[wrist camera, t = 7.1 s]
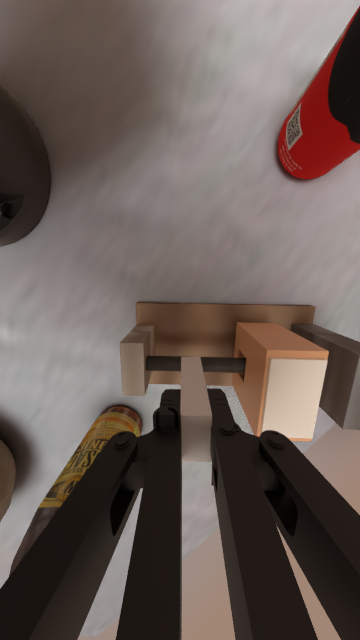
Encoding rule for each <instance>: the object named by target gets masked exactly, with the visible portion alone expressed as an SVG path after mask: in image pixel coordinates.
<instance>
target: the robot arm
mask: <svg viewBox="0 0 360 640" xmlns="http://www.w3.org/2000/svg"><path fill="white" fill-rule="evenodd" d="M49 191H50V168H49V161H48V156H47V153H46V149H45V146H44V143H43V141H42V138H41V136H40V134H39V132H38V130H37V128H36V126H35V124H34V123H33V121H32V119H31V118H30V117H29V115H28V114H27V112H26V111H25V110H24V109H23V108H22V106H21V105H20V104H19V103H18V102H17V101H16V100H15V99H14V98H13V97H12V96H11V95H10V94H9V93H8V92H7V91H6V90H5V89H4V88H3V87H2V86H1V85H0V246H2V245H6V244H10V243H13V242H15V241H17V240H19V239H21V238H22V237H24V236H25V235H27V234H28V233H29V232H30V231H31V230H32V229H33V228H34V227H35V226H36V224H37V223H38V221H39V220H40V218H41V216H42V215H43V212H44V210H45V207H46V205H47V201H48V197H49ZM153 427H154V429H153V430H152V431H151V432H149V433H148V434H145V435H142V436H139V437H136V435H135V434H134V433H132V432H130V431H122V432H118V433H117V434H115V435H113V436H112V437H111V438H110V439H109V440H108V442H107V443H106V444H105V446H104V447H103V449H102V450H101V451H100V453H99V454H98V455H97V457H96V458H95V460H94V461H93V462H92V464H91V465H90V466H89V468H88V469H87V471H86V472H85V473H84V475H83V476H82V477H81V479H80V480H79V482H78V483H77V484H76V486H75V487H74V488H73V490H72V491H71V493H70V494H69V495H68V497H67V498H66V499H65V501H64V502H63V504H62V505H61V506H60V508H59V509H58V510H57V512H56V513H55V515H54V516H53V517H52V519H51V520H50V521H49V523H48V524H47V526H46V527H45V528H44V530H43V531H42V532H41V534H40V535H39V537H38V538H37V539H36V541H35V542H34V543H33V545H32V546H31V548H30V549H29V550H28V552H27V553H26V554H25V556H24V557H23V559H22V560H21V561H20V563H19V564H18V565H17V567H16V568H15V570H14V571H13V572H12V574H11V575H10V576H9V578H8V579H7V581H6V582H5V583H4V585H3V586H2V587H1V589H0V640H77V639H78V636H79V634H80V632H81V629H82V627H83V625H84V622H85V620H86V618H87V615H88V613H89V610H90V608H91V606H92V603H93V601H94V598H95V596H96V594H97V591H98V589H99V587H100V584H101V582H102V579H103V577H104V575H105V572H106V570H107V567H108V565H109V563H110V560H111V558H112V556H113V553H114V551H115V548H116V546H117V544H118V541H119V539H120V536H121V534H122V532H123V529H124V527H125V525H126V522H127V520H128V517H129V515H130V513H131V510H132V508H133V506H134V503H135V501H136V498H137V496H138V494H139V491H140V488H143V492H142V497H141V503H140V508H139V514H138V519H137V525H136V530H135V536H134V542H133V547H132V553H131V558H130V564H129V569H128V575H127V580H126V586H125V592H124V597H123V603H122V608H121V614H120V619H119V625H118V630H117V636H116V640H181V613H182V609H181V607H182V604H181V603H182V602H181V601H182V592H181V591H182V462H211V459H212V485H214V491H215V498H216V505H217V512H218V519H219V526H220V533H221V540H222V547H223V554H224V561H225V569H226V575H227V582H228V590H229V596H230V604H231V611H232V618H233V624H234V632H235V638H236V640H318V639H317V636H316V633H315V631H314V628H313V625H312V622H311V620H310V617H309V614H308V611H307V608H306V606H305V603H304V600H303V598H302V595H301V592H300V589H299V587H298V584H297V581H296V578H295V576H294V573H293V570H292V568H291V565H290V562H289V559H288V556H287V554H286V551H285V548H284V546H283V543H282V540H281V537H280V535H279V532H278V529H277V527H278V528H279V530H280V532H281V534H282V536H283V537H284V539H285V541H286V543H287V544H288V546H289V548H290V550H291V551H292V553H293V555H294V557H295V559H296V560H297V562H298V564H299V566H300V568H301V569H302V571H303V573H304V575H305V576H306V578H307V580H308V582H309V583H310V585H311V587H312V589H313V590H314V592H315V594H316V596H317V598H318V599H319V601H320V603H321V605H322V606H323V608H324V610H325V612H326V614H327V615H328V617H329V619H330V620H331V622H332V624H333V626H334V628H335V629H336V631H337V633H338V635H339V637H340V638H341V640H360V515H359V514H358V513H357V512H356V511H355V510H354V509H353V508H352V507H351V506H350V505H349V503H348V502H347V501H346V500H345V499H344V498H343V497H342V496H341V495H340V494H339V493H338V492H337V490H335V488H334V487H333V486H332V485H331V484H330V483H329V482H328V481H327V480H326V479H325V478H324V476H323V475H322V474H321V473H320V472H319V471H318V470H317V469H316V468H315V467H314V466H313V465H312V464H311V462H309V460H308V459H307V458H306V457H305V456H304V455H303V454H302V453H301V452H300V451H299V449H298V448H297V447H296V446H295V445H294V444H293V443H292V442H291V441H290V440H289V439H288V438H287V437H286V436H285V435H283V434H281V433H279V432H277V431H273V430H266V431H264V432H262V433H261V435H260V437H259V436H255V435H251V434H248V433H246V432H244V431H242V430H241V428H240V427H239V425H238V424H236V423H235V421H234V418H233V416H232V413H231V410H230V407H229V405H228V401H227V398H226V395H225V393H224V392H223V391H222V390H221V389H207V388H206V383H205V378H204V373H203V368H202V363H201V358H200V357H181V389H166V390H165V391H164V392H163V393H162V396H161V402H160V408H158V409H157V410H156V411H155V412H154V414H153ZM275 523H276V524H275ZM276 525H277V526H276Z"/></svg>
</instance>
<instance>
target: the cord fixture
mask: <svg viewBox="0 0 360 640" xmlns="http://www.w3.org/2000/svg"><path fill="white" fill-rule="evenodd" d="M314 313H315V306H309V305H254V304H199V303H143V302H138V303H136V315H137V325H136V326H135V327H134V328H133V329H132V331H131V332H130V333H129V334H128V335H127V336H126V337H125V338H124V339H123V340H122V341H121V342H120V356H121V374H122V391H123V395H131V396H145V393H146V390H147V387H148V384H180V385H181V357H200V358H201V363H202V368H203V373H204V378H205V383H206V385H220V386H233V385H232V375H233V373H245V367H246V358H234V351H235V338H236V326H237V322H242V323H276V324H278V325H280V326H282V327H284V328H286V329H288V330H290V331H291V332H293V333H295V334H297V335H299V336H301V337H303V338H305V339H307V340H308V341H310V342H312V343H314V344H316V345H318V346H320V347H322V348H324V349H325V350H327V351H329V354H328V359H327V360H328V361H327V367H326V372H325V377H324V382H323V387H322V392H321V397H320V402H319V407H320V408H321V409H323V410H324V411H325V412H326V413H327V414H328V415H329V416H330V417H331V418H332V419H333V420H334V421H335V422H336V423H337V424H338V425H339V426H340V427H341V428H342V429H357V430H360V342H358V341H355V340H353V339H350V338H347V337H345V336H342V335H340V334H337V333H334V332H332V331H329V330H327V329H324V328H321V327H319V326H316V325H314V324H313V319H314Z"/></svg>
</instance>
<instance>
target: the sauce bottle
mask: <svg viewBox="0 0 360 640" xmlns="http://www.w3.org/2000/svg"><path fill="white" fill-rule="evenodd" d="M122 431H130V432H132V433H134V434H135V435H136V437H139V436H140V435H141V431H142V422H141V419H140V417H139V416H138V415H137V414H136V413H135V412H134V411H132V410H131V409H129V408H127V407H124V406H122V407H121V406H115V407H112V408H109V409H107V410H105V411H103V412H102V414H101V415H100V417H98V418H97V419H96V421H95V422H94V423H93V425H92V426H91V428H90V430H89V431H88V433H87V434H86V436H85V437H84V439H83V440H82V442H81V443H80V445H79V446H78V448H77V450H76V451H75V453H74V454H73V456H72V457H71V459H70V460H69V462H68V463H67V465H66V466H65V468H64V469H63V471H62V472H61V474H60V476H59V477H58V479H57V480H56V481H55V483H54V485H53V486H52V488H51V489H50V491H49V492H48V493H47V495H46V497H45V498H44V500H43V501H42V503H41V504H40V506H39V507H38V509H37V511H36V513H35V515H34V517H33V519H32V522H31V524H30V526H29V528H28V530H27V532H26V534H25V536H24V538H23V541H22V543H21V545H20V547H19V549H18V551H17V553H16V555H15V557H14V560H13V563H12V566H11V570H10V575H11V574H12V572H13V571H14V570H15V568H16V567H17V565H18V564H19V563H20V561H21V560H22V559H23V557H24V556H25V554H26V553H27V552H28V550H29V549H30V548H31V546H32V545H33V543H34V542H35V541H36V539H37V538H38V537H39V535H40V534H41V532H42V531H43V530H44V528H45V527H46V526H47V524H48V523H49V521H50V520H51V519H52V517H53V516H54V515H55V513H56V512H57V510H58V509H59V508H60V506H61V505H62V504H63V502H64V501H65V499H66V498H67V497H68V495H69V494H70V493H71V491H72V490H73V488H74V487H75V486H76V484H77V483H78V482H79V480H80V479H81V477H82V476H83V475H84V473H85V472H86V471H87V469H88V468H89V466H90V465H91V464H92V462H93V461H94V460H95V458H96V457H97V455H98V454H99V453H100V451H101V450H102V449H103V447H104V446H105V444H106V443H107V442H108V440H109V439H110V438H111V437H112V436H113V435H115V434H117V433H118V432H122ZM10 575H9V576H10Z"/></svg>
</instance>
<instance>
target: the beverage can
mask: <svg viewBox="0 0 360 640" xmlns="http://www.w3.org/2000/svg"><path fill="white" fill-rule="evenodd" d="M358 150H360V6H359V8H358V9H357V11H356V12H355V14H354V16H353V17H352V19H351V20H350V22H349V23H348V25H347V26H346V28H345V29H344V31H343V32H342V34H341V35H340V37H339V38H338V40H337V42H336V43H335V45H334V46H333V48H332V49H331V51H330V52H329V54H328V55H327V57H326V58H325V60H324V61H323V63H322V65H321V66H320V68H319V69H318V71H317V72H316V74H315V75H314V77H313V78H312V80H311V81H310V83H309V84H308V86H307V87H306V89H305V91H304V92H303V94H302V95H301V97H300V98H299V100H298V101H297V103H296V104H295V106H294V107H293V109H292V110H291V112H290V114H289V115H288V117H287V118H286V120H285V122H284V123H283V126H282V128H281V131H280V135H279V140H278V153H279V157H280V160H281V163H282V165H283V166H284V168H285V169H286V170H287V171H288V172H289V173H290V174H291V175H293V176H295V177H297V178H300V179H313V178H317V177H320V176H322V175H324V174H326V173H328V172H329V171H330V170H332V169H333V168H335V167H336V166H337V165H339V164H340V163H342V162H343V161H344V160H346V159H347V158H349V157H350V156H351V155H353V154H354V153H356V152H357V151H358Z"/></svg>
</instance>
